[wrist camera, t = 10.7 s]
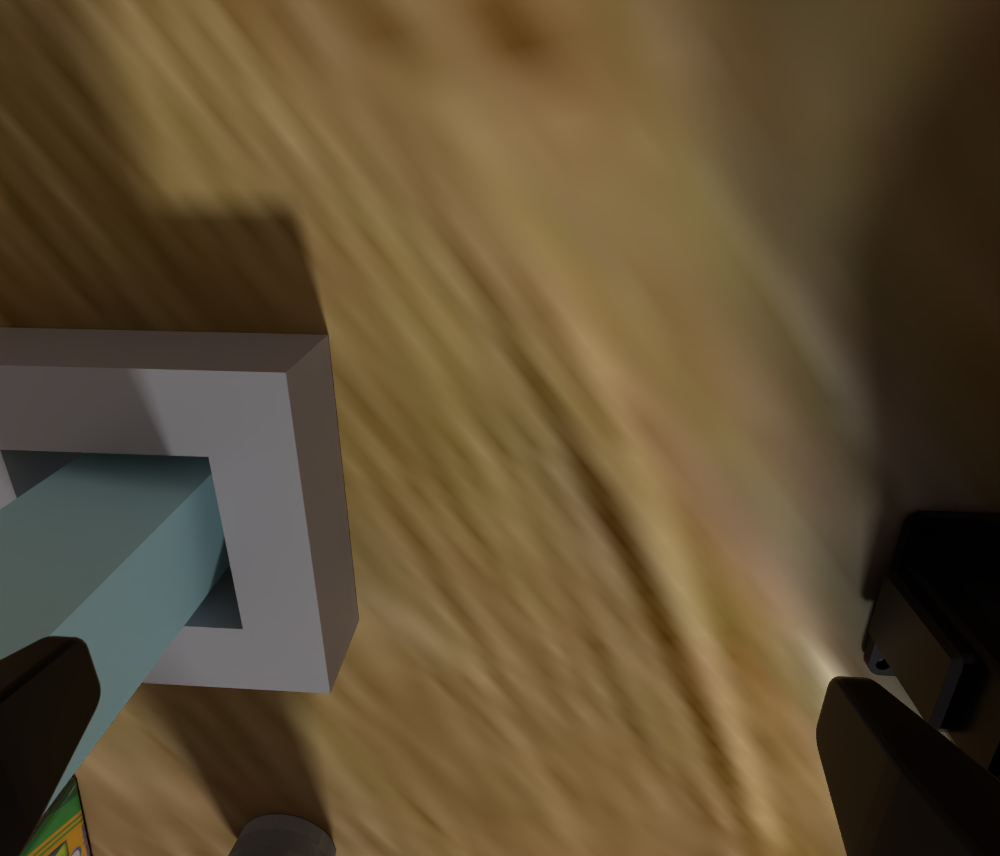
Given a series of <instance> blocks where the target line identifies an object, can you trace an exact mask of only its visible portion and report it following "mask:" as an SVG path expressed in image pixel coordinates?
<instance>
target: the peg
mask: <svg viewBox="0 0 1000 856" xmlns="http://www.w3.org/2000/svg"><path fill="white" fill-rule="evenodd" d="M229 565H230V562H229V557H228V552H227V547H226V542H225V537H224V532H223V527H222V522H221V517H220V512H219V507H218V502H217V497H216V492H215V487H214V482H213V477H212V472H211V467H210V462H209V457H197V456H169V455H140V454H111V453H83V454H81V455H80V456H78V457H77V458H75V459H74V460H72V461H71V462H70V463H68V464H67V465H65V466H64V467H62V468H61V469H59V470H58V471H56V472H55V473H53V474H52V475H50V476H49V477H47V478H46V479H45V480H43V481H42V482H40V483H39V484H37V485H36V486H34V487H33V488H31V489H30V490H28V491H27V492H25V493H24V494H22V495H21V496H19V497H18V498H17V499H15V500H14V501H12V502H11V503H9V504H8V505H6V506H5V507H3V508H2V509H0V660H1V659H3V658H5V657H7V656H8V655H10V654H12V653H14V652H16V651H18V650H20V649H22V648H24V647H26V646H28V645H30V644H31V643H33V642H35V641H37V640H39V639H41V638H44V637H47V636H68V637H78V638H81V639H82V640H83V641H85V642H86V644H87V646H88V648H89V652H90V655H91V658H92V661H93V664H94V667H95V670H96V673H97V676H98V679H99V682H100V685H101V695H100V700H99V704H98V706H97V709H96V711H95V713H94V715H93V717H92V719H91V721H90V723H89V725H88V727H87V729H86V731H85V733H84V735H83V737H82V739H81V740H80V742H79V744H78V746H77V748H76V750H75V752H74V754H73V756H72V758H71V760H70V762H69V764H68V766H67V768H66V770H65V772H64V774H63V776H62V778H61V780H60V782H59V784H58V786H57V788H56V790H55V792H54V794H53V796H52V798H51V800H50V802H49V804H48V806H47V808H46V810H47V809H48V808H49V806H50V805H51V804H52V802H53V801H54V800H55V798H56V797H57V796H58V794H59V793H60V792H61V790H62V789H63V788H64V786H65V785H66V783H67V782H68V781H69V779H70V778H71V777H72V775H73V774H74V773H75V771H76V770H77V769H78V767H79V766H80V765H81V763H82V762H83V761H84V759H85V758H86V757H87V755H88V754H89V753H90V751H91V750H92V749H93V747H94V746H95V745H96V743H97V742H98V741H99V739H100V738H101V737H102V735H103V734H104V733H105V731H106V730H107V729H108V727H109V726H110V725H111V723H112V722H113V720H114V719H115V718H116V716H117V715H118V714H119V712H120V711H121V710H122V708H123V707H124V706H125V704H126V703H127V702H128V700H129V699H130V698H131V696H132V695H133V694H134V692H135V691H136V690H137V688H138V687H139V686H140V684H141V683H142V682H143V680H144V679H145V678H146V676H147V675H148V674H149V672H150V671H151V670H152V668H153V667H154V666H155V664H156V663H157V662H158V660H159V659H160V658H161V656H162V655H163V653H164V652H165V651H166V649H167V648H168V647H169V645H170V644H171V643H172V641H173V640H174V639H175V637H176V636H177V635H178V633H179V632H180V631H181V629H182V628H183V627H184V625H185V624H186V623H187V621H188V620H189V619H190V617H191V616H192V615H193V613H194V612H195V611H196V609H197V608H198V607H199V605H200V604H201V603H202V601H203V600H204V599H205V597H206V596H207V595H208V593H209V592H210V591H211V589H212V588H213V586H214V585H215V584H216V582H217V581H218V580H219V578H220V577H221V576H222V574H223V573H224V572H225V570H226V569H227V568H228V566H229ZM46 810H45V812H46ZM45 812H44V813H45ZM44 813H43V814H44ZM42 816H43V815H42Z"/></svg>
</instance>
